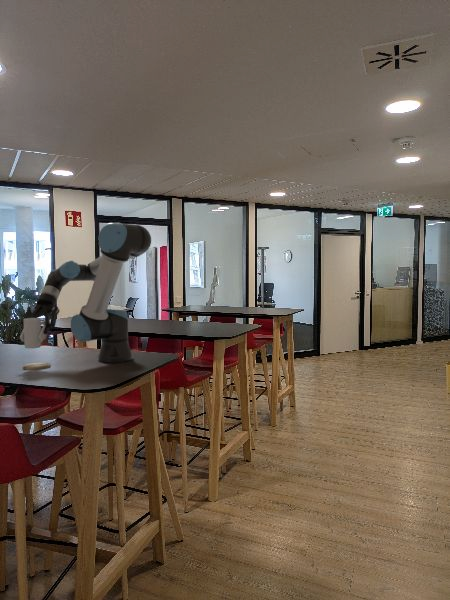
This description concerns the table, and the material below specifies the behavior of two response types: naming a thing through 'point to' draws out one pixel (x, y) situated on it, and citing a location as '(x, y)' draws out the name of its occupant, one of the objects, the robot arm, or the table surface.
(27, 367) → the stand
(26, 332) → the mug
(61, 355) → the table surface
